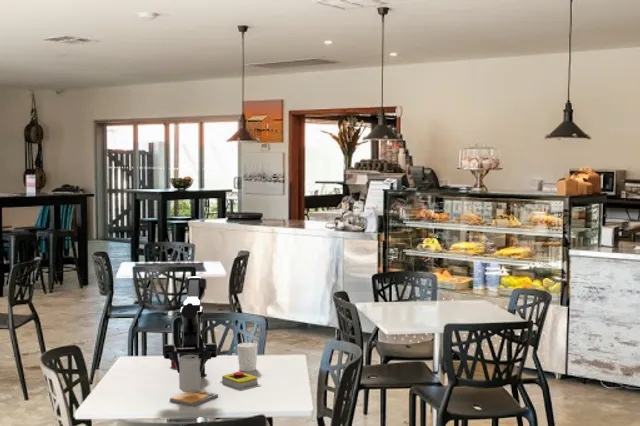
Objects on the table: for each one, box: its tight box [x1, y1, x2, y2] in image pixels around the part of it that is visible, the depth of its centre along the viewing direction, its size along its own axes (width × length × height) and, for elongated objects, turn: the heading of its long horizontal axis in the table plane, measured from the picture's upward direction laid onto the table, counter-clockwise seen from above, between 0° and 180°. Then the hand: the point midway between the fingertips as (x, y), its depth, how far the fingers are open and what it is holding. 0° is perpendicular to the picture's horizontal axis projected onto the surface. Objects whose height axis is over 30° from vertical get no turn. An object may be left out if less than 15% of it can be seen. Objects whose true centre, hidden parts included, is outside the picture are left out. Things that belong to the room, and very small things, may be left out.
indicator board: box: [169, 389, 219, 407], centre depth 291 cm, size 11×13×2 cm
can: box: [178, 355, 202, 393], centre depth 289 cm, size 8×8×12 cm
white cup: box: [237, 342, 258, 372], centre depth 331 cm, size 8×8×10 cm
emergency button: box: [219, 371, 262, 391], centre depth 310 cm, size 9×4×15 cm
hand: (189, 372), depth 287 cm, fingers closed on can, 7 cm apart
